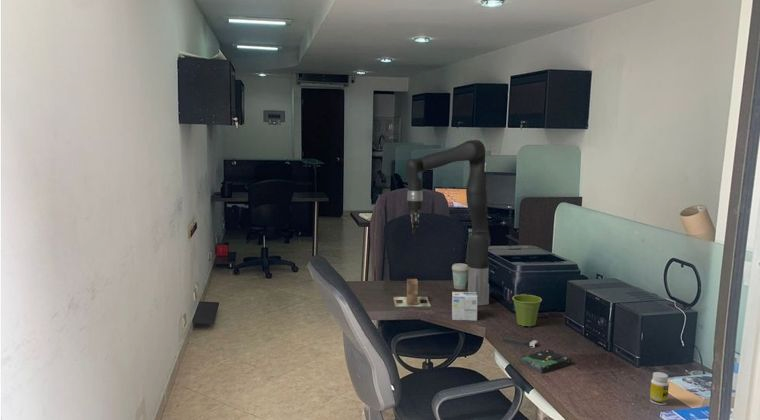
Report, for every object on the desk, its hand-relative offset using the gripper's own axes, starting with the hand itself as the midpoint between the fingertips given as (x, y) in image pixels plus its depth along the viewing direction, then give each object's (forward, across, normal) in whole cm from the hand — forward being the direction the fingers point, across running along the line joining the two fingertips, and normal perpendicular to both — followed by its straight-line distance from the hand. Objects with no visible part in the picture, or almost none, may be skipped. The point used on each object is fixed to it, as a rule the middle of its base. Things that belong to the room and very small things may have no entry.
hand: (414, 234), depth 284 cm
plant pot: (+30, -51, -42) cm, 72 cm away
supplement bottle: (+30, -120, -62) cm, 138 cm away
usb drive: (+30, -71, -34) cm, 85 cm away
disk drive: (+30, -91, -38) cm, 103 cm away
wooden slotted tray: (+29, -22, +3) cm, 37 cm away
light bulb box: (+29, -42, -18) cm, 54 cm away
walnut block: (+27, -26, +3) cm, 38 cm away
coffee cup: (+29, +6, -24) cm, 38 cm away
